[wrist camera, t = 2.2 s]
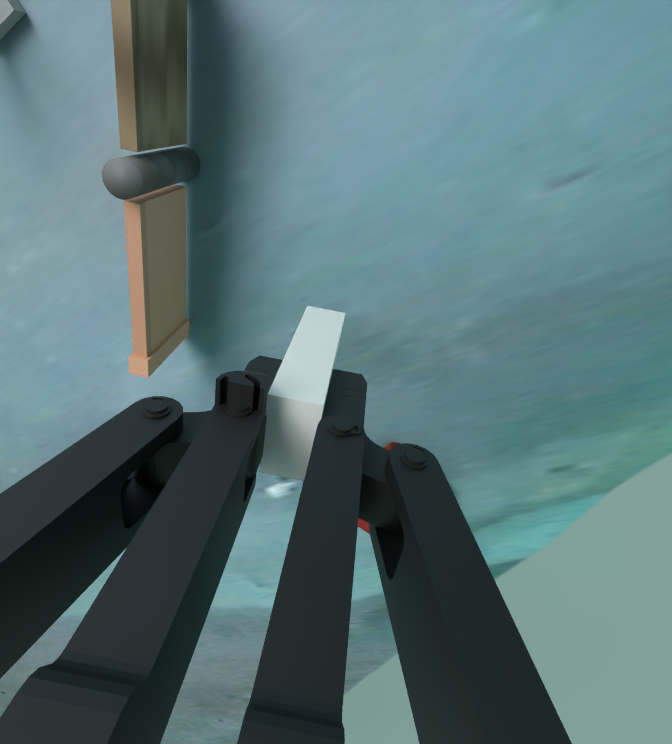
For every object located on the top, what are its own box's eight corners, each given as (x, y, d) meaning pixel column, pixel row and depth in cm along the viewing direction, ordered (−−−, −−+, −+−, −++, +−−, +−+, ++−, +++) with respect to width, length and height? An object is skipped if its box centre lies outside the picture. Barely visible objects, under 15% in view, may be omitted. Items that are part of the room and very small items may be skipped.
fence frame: (168, -58, 30) (76, -125, 21) (203, -51, 30) (125, -115, 21) (171, 175, 38) (103, 195, 29) (199, 181, 37) (140, 203, 29)
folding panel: (171, 183, 37) (117, 201, 30) (190, 187, 37) (140, 206, 30) (173, 330, 44) (129, 373, 37) (189, 333, 44) (148, 377, 37)
